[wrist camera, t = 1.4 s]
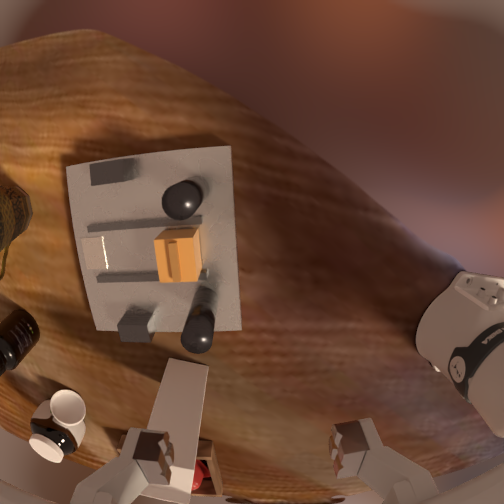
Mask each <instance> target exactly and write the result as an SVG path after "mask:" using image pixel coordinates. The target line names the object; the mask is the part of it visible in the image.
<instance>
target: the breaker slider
mask: <svg viewBox="0 0 504 504" xmlns="http://www.w3.org/2000/svg"><path fill="white" fill-rule="evenodd" d="M154 246H155V254H156V261H157V267H158V274H159V281H160V283H168V282H196V281H198V278H199V275H200V272H201V269H202V262H201V252H200V242H199V231H198V228H193V229H177V230H163V231H162V232H161V233H160V234H159V235H158V236H157V237H156V238H155V239H154Z"/></svg>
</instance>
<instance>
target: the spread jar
mask: <svg viewBox="0 0 504 504" xmlns="http://www.w3.org/2000/svg"><path fill="white" fill-rule="evenodd" d="M85 412H86V408H85V404H84V401H83V399H82V398H81V397H80V396H79V395H78V394H77V393H75V392H74V391H71V390H60V391H57V392H56V393H55V394H54V395H53V396H52V398H51V399H47V400H45V401H43V402H42V403H41V404H40V405H39V407H38V408H37V410H36V411H35V413H34V414H33V416H32V418H31V422H30V426H31V431H32V434H33V435H32V436H31V438H30V440H29V443H30V445H31V446H32V448H33V449H34V450H35V451H36V452H37V453H38V454H40V455H41V456H42V457H44V458H45V459H47V460H49V461H52V462H56V463H59V462H61V460H62V458H63V456H64V455H68V454H71V453H73V452H75V451H76V450H77V448H78V447H79V445H80V443H81V441H82V439H83V436H84V434H85V429H86V428H85V422H84V417H85Z"/></svg>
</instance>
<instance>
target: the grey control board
mask: <svg viewBox="0 0 504 504" xmlns="http://www.w3.org/2000/svg"><path fill="white" fill-rule="evenodd" d="M66 173H67V183H68V192H69V200H70V208H71V215H72V222H73V228H74V234H75V240H76V245H77V251H78V256H79V261H80V266H81V270H82V275H83V279H84V284H85V288H86V292H87V296H88V300H89V304H90V308H91V312H92V315H93V319H94V322H95V326H96V329H97V330H101V331H118V332H119V336H120V339H121V342H151V341H152V338H153V336H154V334H155V332H182V335H181V343H182V345H183V347H184V348H185V349H186V350H188V351H189V352H192V353H196V354H200V353H204V352H206V351H208V350H209V349H210V347H211V345H212V340H213V333H214V331H232V330H242V315H241V300H240V285H239V269H238V253H237V236H236V219H235V201H234V183H233V164H232V146H218V147H204V148H193V149H182V150H172V151H163V152H154V153H146V154H139V155H131V156H124V157H118V158H111V159H105V160H99V161H93V162H88V163H82V164H77V165H72V166H67V167H66ZM193 228H198V231H199V242H200V252H201V262H202V269H201V272H200V275H199V278H198V281H196V282H168V283H160V281H159V274H158V267H157V261H156V254H155V246H154V239H155V238H156V237H157V236H158V235H159V234H160V233H161V232H162V231H163V230H177V229H193Z"/></svg>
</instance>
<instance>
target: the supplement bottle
mask: <svg viewBox="0 0 504 504" xmlns="http://www.w3.org/2000/svg"><path fill="white" fill-rule="evenodd" d="M39 338H40V332H39V328H38V325H37V323H36V321H35V320H34V319H33V317H32V316H31V315H30V314H28V313H27V312H25V311H23V310H15V311H13V312H12V313H11V314H9V315H8V316H7V317H6V318H5V319H4V320H3V321H2V322H1V323H0V376H1V375H2V374H3V373H4V372H5V371H6V370H13V369H15V368H16V367H17V366H18V365H19V363H20V362H21V361H22V360H23V359H24V357H25V356H26V355H27V354H28V353H29V352H30V350H31V349H32V348H33V347H34V346H35V345H36V343H37V342H38V341H39Z"/></svg>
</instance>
